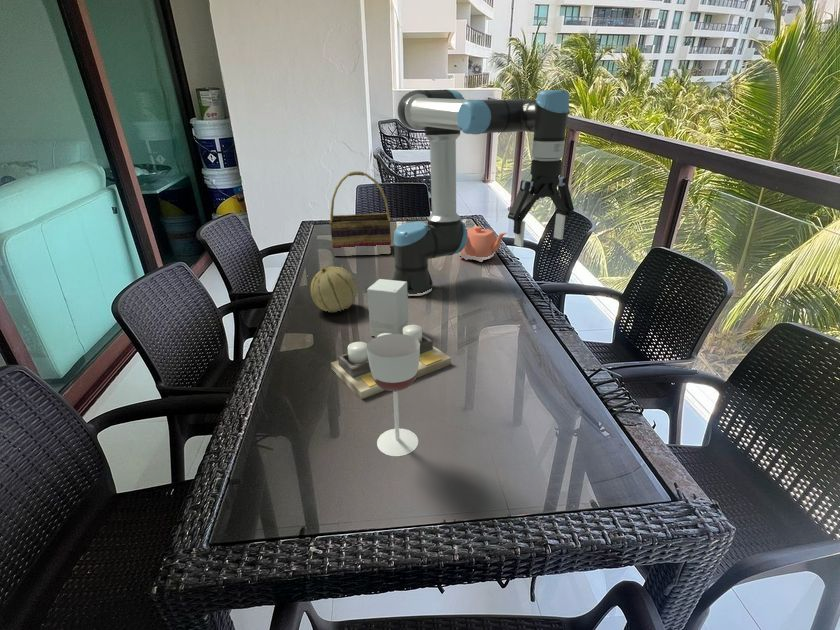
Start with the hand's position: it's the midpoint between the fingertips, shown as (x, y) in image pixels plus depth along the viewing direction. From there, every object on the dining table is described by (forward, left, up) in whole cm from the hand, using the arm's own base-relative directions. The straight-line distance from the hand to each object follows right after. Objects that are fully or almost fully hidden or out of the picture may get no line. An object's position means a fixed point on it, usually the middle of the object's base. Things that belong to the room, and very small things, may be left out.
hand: (538, 242), depth 124 cm
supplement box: (-24, -33, -27) cm, 49 cm away
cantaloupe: (-48, -39, -27) cm, 68 cm away
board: (-7, -43, -27) cm, 52 cm away
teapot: (-60, +33, -27) cm, 74 cm away
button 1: (-9, -51, -23) cm, 57 cm away
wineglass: (+18, -57, -27) cm, 66 cm away
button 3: (-9, -35, -23) cm, 43 cm away
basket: (-100, -1, -27) cm, 104 cm away
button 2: (-9, -43, -23) cm, 50 cm away
